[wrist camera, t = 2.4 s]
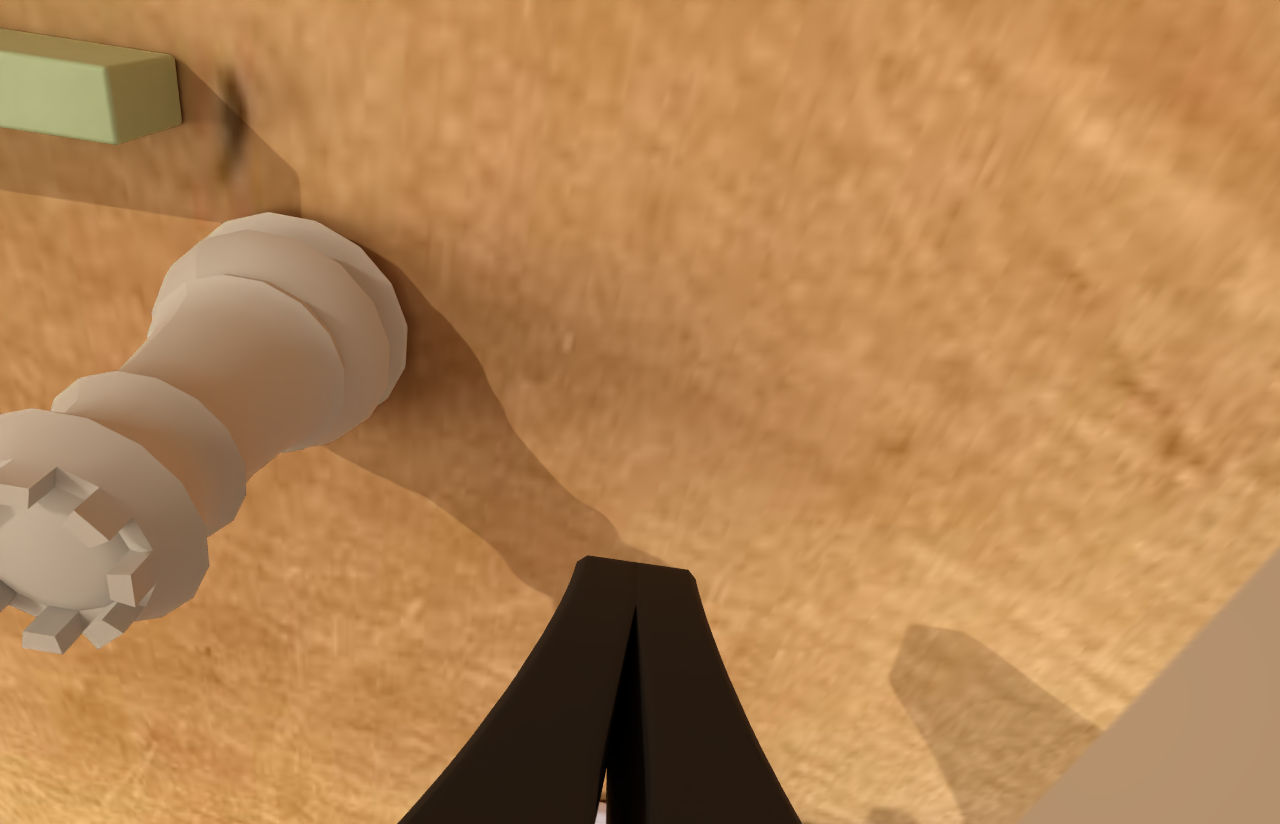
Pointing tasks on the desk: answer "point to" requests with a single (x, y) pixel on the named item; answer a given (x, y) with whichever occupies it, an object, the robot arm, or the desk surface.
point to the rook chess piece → (189, 424)
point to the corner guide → (85, 88)
